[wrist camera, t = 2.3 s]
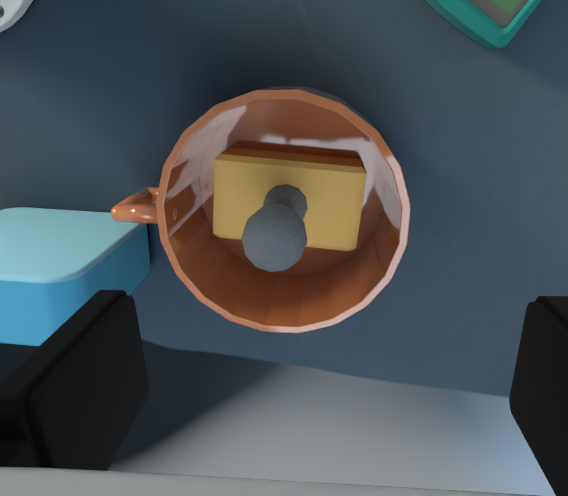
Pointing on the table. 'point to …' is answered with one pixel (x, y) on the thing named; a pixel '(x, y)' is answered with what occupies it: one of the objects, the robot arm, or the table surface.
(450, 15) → the digital multimeter
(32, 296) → the data package
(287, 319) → the terracotta mug
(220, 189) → the rubber stamp
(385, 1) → the table surface
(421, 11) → the table surface
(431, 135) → the table surface
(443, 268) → the table surface
